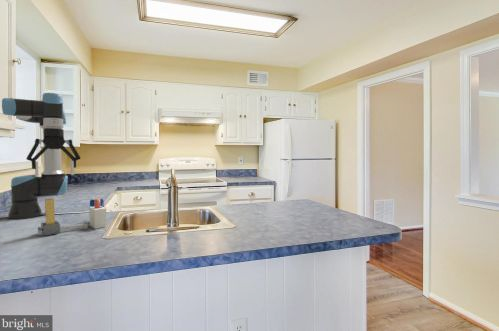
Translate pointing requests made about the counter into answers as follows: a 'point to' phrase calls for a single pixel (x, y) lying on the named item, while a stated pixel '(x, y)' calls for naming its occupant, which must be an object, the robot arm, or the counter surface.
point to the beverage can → (93, 202)
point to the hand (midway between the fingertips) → (55, 175)
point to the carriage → (50, 219)
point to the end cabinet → (97, 217)
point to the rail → (67, 228)
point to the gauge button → (97, 203)
